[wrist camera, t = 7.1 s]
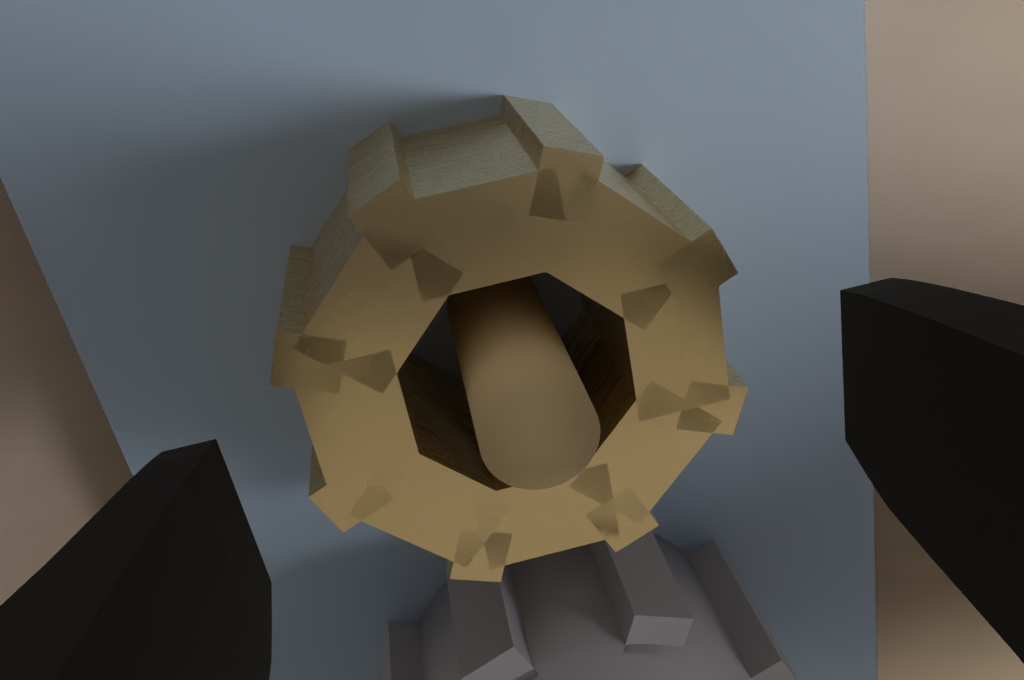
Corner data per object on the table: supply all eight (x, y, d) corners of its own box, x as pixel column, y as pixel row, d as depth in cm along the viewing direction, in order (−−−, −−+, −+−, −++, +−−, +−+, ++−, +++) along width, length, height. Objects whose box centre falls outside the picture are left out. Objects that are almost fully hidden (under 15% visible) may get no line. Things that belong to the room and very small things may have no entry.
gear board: (800, -715, 11) (1138, -1175, 6) (850, 670, 21) (996, 895, 16) (-263, -527, 10) (-782, -889, 6) (308, 814, 20) (295, 1095, 15)
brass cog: (646, 62, 13) (723, 104, 10) (689, 409, 16) (760, 515, 13) (241, 153, 13) (211, 221, 10) (351, 493, 15) (351, 620, 13)
